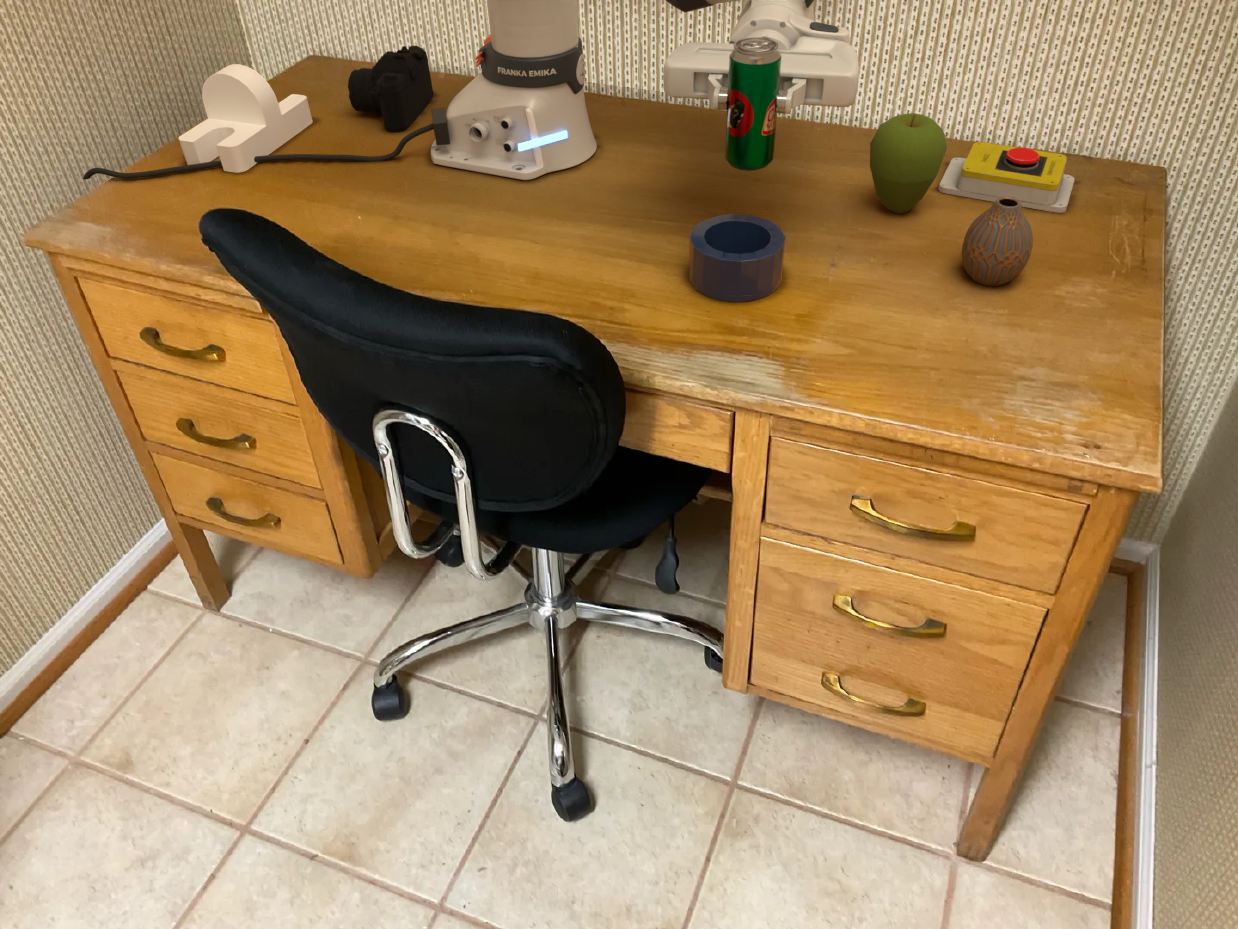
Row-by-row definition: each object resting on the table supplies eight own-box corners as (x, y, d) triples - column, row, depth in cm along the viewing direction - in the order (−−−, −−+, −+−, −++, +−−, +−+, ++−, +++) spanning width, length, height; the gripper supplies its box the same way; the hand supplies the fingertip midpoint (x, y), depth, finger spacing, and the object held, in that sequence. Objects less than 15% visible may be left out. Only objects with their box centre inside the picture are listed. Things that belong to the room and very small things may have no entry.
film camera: (381, 90, 150) (369, 30, 144) (441, 93, 148) (431, 32, 142) (342, 131, 139) (327, 67, 133) (405, 135, 137) (393, 70, 131)
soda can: (771, 174, 100) (780, 55, 92) (722, 171, 101) (727, 53, 93) (775, 152, 104) (784, 36, 95) (727, 150, 104) (732, 34, 96)
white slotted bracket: (315, 120, 142) (298, 48, 136) (242, 173, 130) (219, 97, 123) (260, 113, 145) (240, 42, 138) (183, 164, 132) (157, 90, 126)
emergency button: (1075, 179, 112) (943, 158, 117) (1064, 213, 115) (936, 191, 120) (1084, 146, 118) (959, 128, 123) (1074, 180, 121) (952, 160, 126)
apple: (871, 187, 122) (885, 95, 114) (940, 198, 119) (959, 105, 111) (853, 218, 116) (866, 123, 108) (924, 231, 113) (943, 135, 105)
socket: (682, 297, 104) (682, 256, 101) (697, 250, 111) (698, 210, 108) (775, 306, 102) (779, 264, 99) (785, 258, 109) (789, 217, 106)
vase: (947, 262, 108) (963, 188, 102) (1008, 257, 108) (1028, 184, 102) (969, 295, 103) (987, 220, 97) (1033, 290, 103) (1055, 215, 97)
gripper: (674, 20, 107) (649, 67, 97) (864, 28, 103) (858, 78, 93) (673, 78, 111) (650, 128, 101) (856, 88, 107) (850, 141, 97)
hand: (751, 104), depth 97 cm, fingers closed on soda can, 5 cm apart
